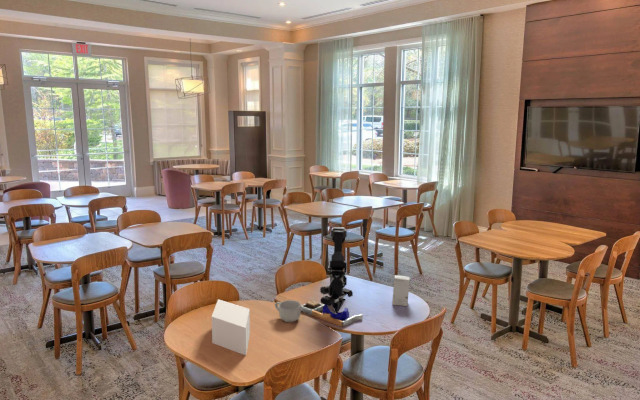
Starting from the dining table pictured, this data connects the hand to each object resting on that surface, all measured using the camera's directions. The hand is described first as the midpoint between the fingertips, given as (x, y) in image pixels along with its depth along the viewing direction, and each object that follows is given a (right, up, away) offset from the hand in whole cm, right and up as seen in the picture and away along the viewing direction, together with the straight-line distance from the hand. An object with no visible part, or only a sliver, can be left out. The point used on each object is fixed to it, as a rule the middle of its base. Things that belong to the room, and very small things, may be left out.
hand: (336, 313), depth 239 cm
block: (-48, -6, -26) cm, 55 cm away
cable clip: (0, -2, -3) cm, 3 cm away
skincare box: (+35, +1, +17) cm, 38 cm away
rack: (-3, -1, +1) cm, 3 cm away
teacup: (-24, -2, -4) cm, 25 cm away
